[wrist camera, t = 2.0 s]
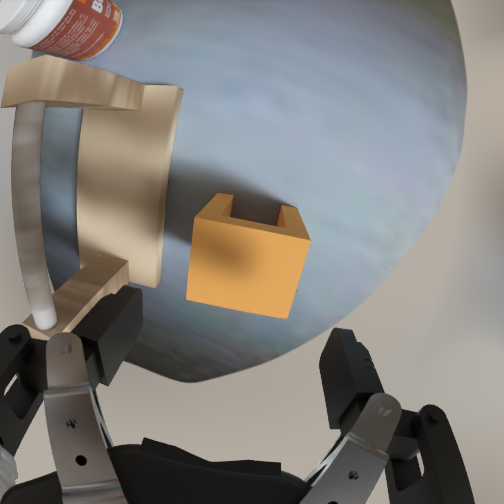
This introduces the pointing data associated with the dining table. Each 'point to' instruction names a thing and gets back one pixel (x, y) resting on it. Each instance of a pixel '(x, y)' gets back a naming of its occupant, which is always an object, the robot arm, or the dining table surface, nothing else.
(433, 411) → the robot arm
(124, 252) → the rack
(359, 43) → the dining table surface
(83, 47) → the pill bottle
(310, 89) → the dining table surface
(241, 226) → the notched orange block
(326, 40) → the dining table surface
